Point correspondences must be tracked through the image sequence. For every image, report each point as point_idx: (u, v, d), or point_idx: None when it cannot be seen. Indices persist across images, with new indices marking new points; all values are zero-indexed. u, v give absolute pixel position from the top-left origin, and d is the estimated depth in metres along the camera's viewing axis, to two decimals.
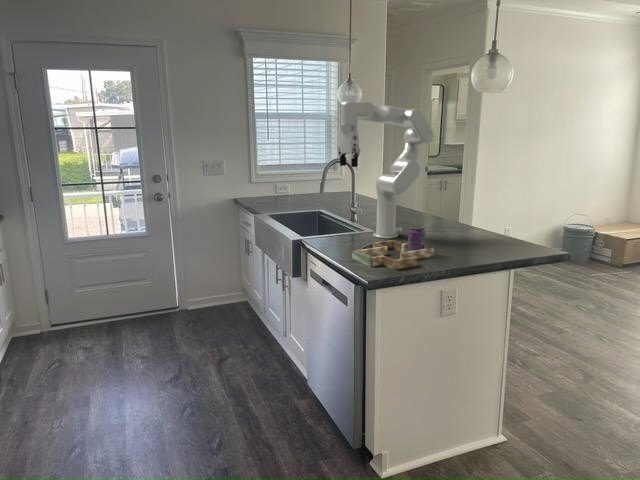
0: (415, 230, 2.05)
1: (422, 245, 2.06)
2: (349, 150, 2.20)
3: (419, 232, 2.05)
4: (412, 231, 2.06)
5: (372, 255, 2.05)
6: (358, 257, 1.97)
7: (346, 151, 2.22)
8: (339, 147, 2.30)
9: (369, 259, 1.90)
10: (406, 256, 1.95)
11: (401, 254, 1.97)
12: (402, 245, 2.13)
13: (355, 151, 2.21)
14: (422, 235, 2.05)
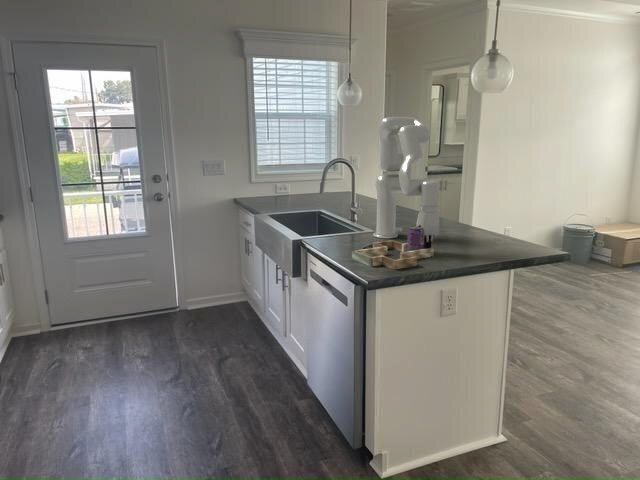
0: (414, 230, 2.05)
1: (421, 245, 2.06)
2: (437, 230, 2.11)
3: (418, 232, 2.04)
4: (411, 231, 2.05)
5: (372, 255, 2.05)
6: (358, 257, 1.97)
7: (433, 232, 2.10)
8: None
9: (369, 259, 1.90)
10: (406, 256, 1.95)
11: (401, 254, 1.97)
12: (402, 245, 2.13)
13: None
14: (421, 235, 2.05)
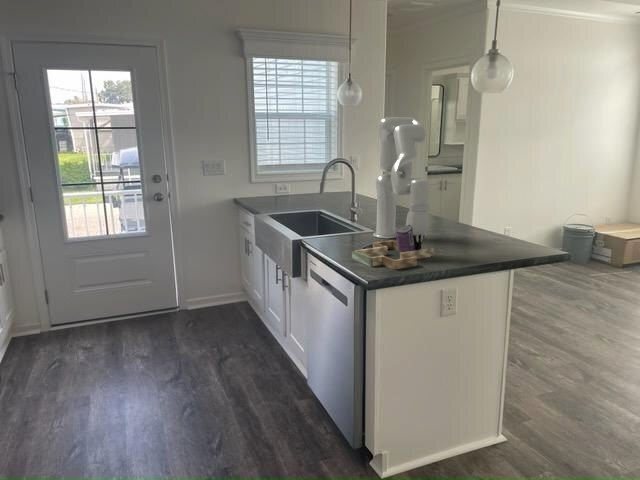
0: (401, 233, 2.00)
1: (411, 246, 2.02)
2: (427, 230, 2.07)
3: (406, 235, 1.99)
4: (399, 235, 2.01)
5: (372, 255, 2.05)
6: (358, 257, 1.97)
7: (423, 232, 2.05)
8: None
9: (369, 259, 1.90)
10: (406, 256, 1.95)
11: (401, 254, 1.97)
12: None
13: None
14: (409, 237, 2.00)
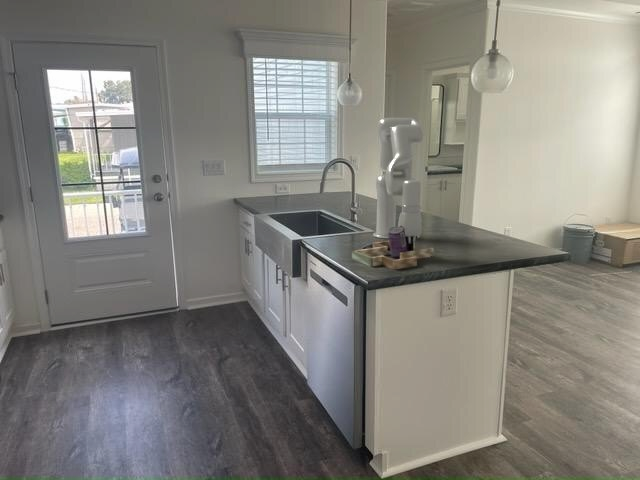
0: (393, 235, 1.98)
1: (403, 247, 2.00)
2: (420, 231, 2.05)
3: (398, 236, 1.97)
4: (391, 236, 1.99)
5: (372, 255, 2.05)
6: (358, 257, 1.97)
7: (415, 233, 2.03)
8: None
9: (369, 259, 1.90)
10: (406, 256, 1.95)
11: (401, 254, 1.97)
12: None
13: None
14: (401, 238, 1.98)
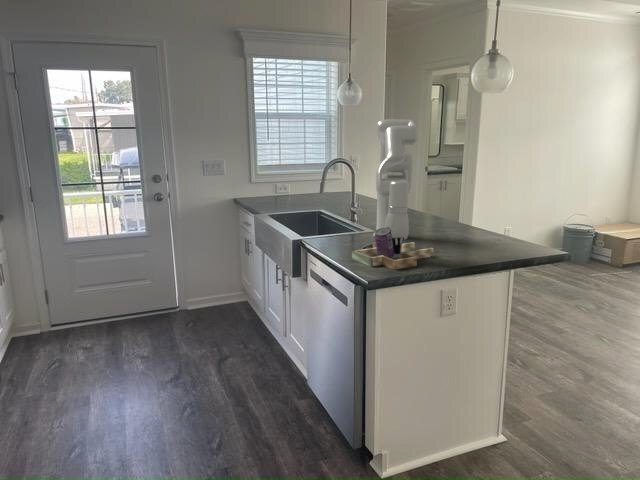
0: (380, 236, 1.94)
1: (390, 249, 1.97)
2: (407, 233, 2.01)
3: (385, 238, 1.94)
4: (377, 237, 1.95)
5: (372, 255, 2.05)
6: (358, 257, 1.97)
7: (402, 235, 2.00)
8: None
9: (369, 259, 1.90)
10: (406, 256, 1.95)
11: (401, 254, 1.97)
12: (402, 245, 2.13)
13: None
14: (388, 240, 1.95)
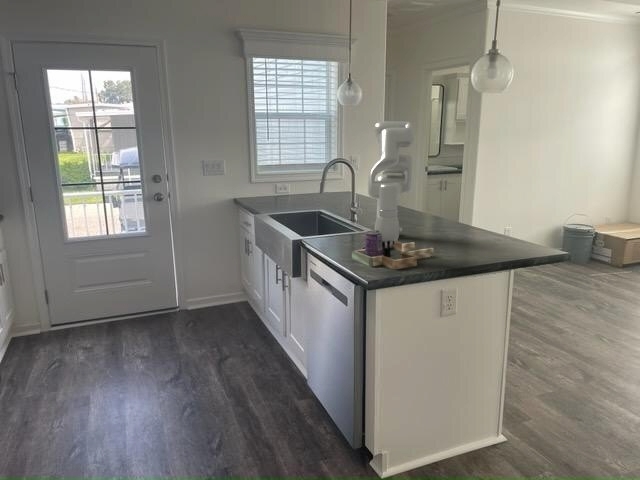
0: (370, 236, 1.93)
1: (379, 251, 1.95)
2: (397, 236, 2.00)
3: (375, 237, 1.93)
4: (367, 237, 1.94)
5: None
6: (358, 257, 1.97)
7: (392, 238, 1.99)
8: None
9: (369, 259, 1.90)
10: (406, 256, 1.95)
11: (401, 254, 1.97)
12: (402, 245, 2.13)
13: None
14: (378, 240, 1.94)
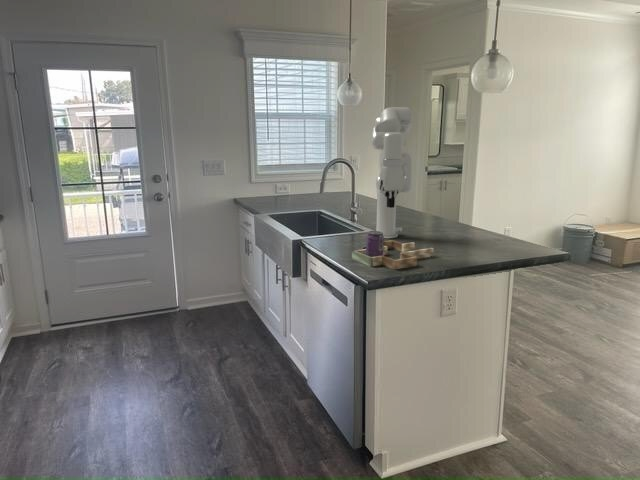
0: (372, 235, 1.94)
1: (380, 251, 1.95)
2: (401, 186, 2.00)
3: (377, 237, 1.93)
4: (369, 236, 1.94)
5: None
6: (358, 257, 1.97)
7: (396, 188, 1.99)
8: (383, 190, 1.98)
9: (369, 259, 1.90)
10: (406, 256, 1.95)
11: (401, 254, 1.97)
12: (402, 245, 2.13)
13: None
14: (380, 241, 1.94)
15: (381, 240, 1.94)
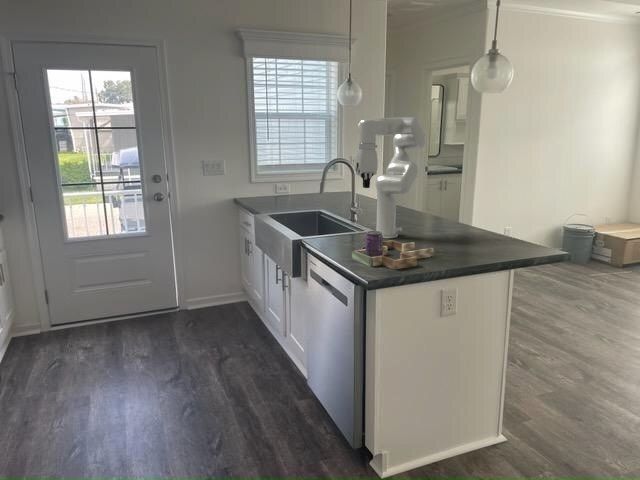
0: (372, 236, 1.94)
1: (380, 251, 1.95)
2: (375, 168, 2.20)
3: (376, 237, 1.93)
4: (369, 237, 1.94)
5: None
6: (358, 257, 1.97)
7: (371, 170, 2.19)
8: (359, 171, 2.17)
9: (369, 259, 1.90)
10: (406, 256, 1.95)
11: (401, 254, 1.97)
12: (402, 245, 2.13)
13: None
14: (379, 241, 1.94)
15: (380, 240, 1.94)
